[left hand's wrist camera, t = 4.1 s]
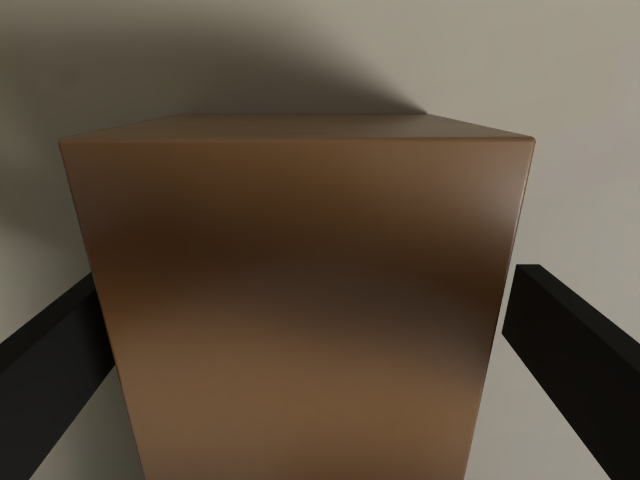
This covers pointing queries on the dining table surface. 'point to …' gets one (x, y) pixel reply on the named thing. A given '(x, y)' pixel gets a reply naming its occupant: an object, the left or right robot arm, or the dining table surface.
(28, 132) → the dining table surface
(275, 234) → the thick board
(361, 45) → the dining table surface
